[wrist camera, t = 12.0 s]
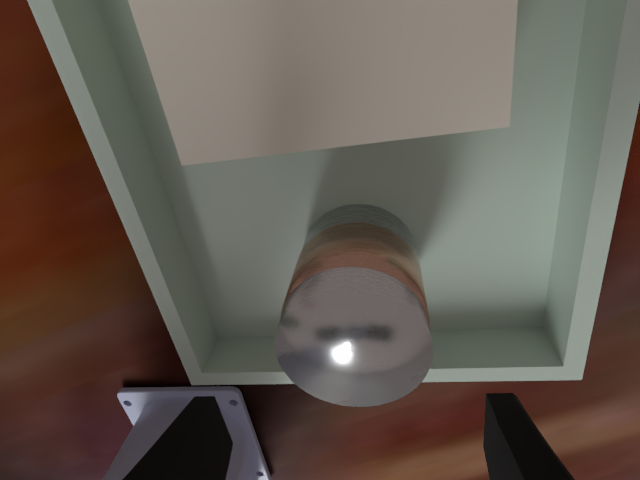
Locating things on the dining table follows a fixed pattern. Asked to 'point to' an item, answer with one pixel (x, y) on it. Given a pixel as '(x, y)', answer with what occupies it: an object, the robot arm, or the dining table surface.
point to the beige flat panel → (325, 71)
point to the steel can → (356, 311)
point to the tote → (378, 199)
